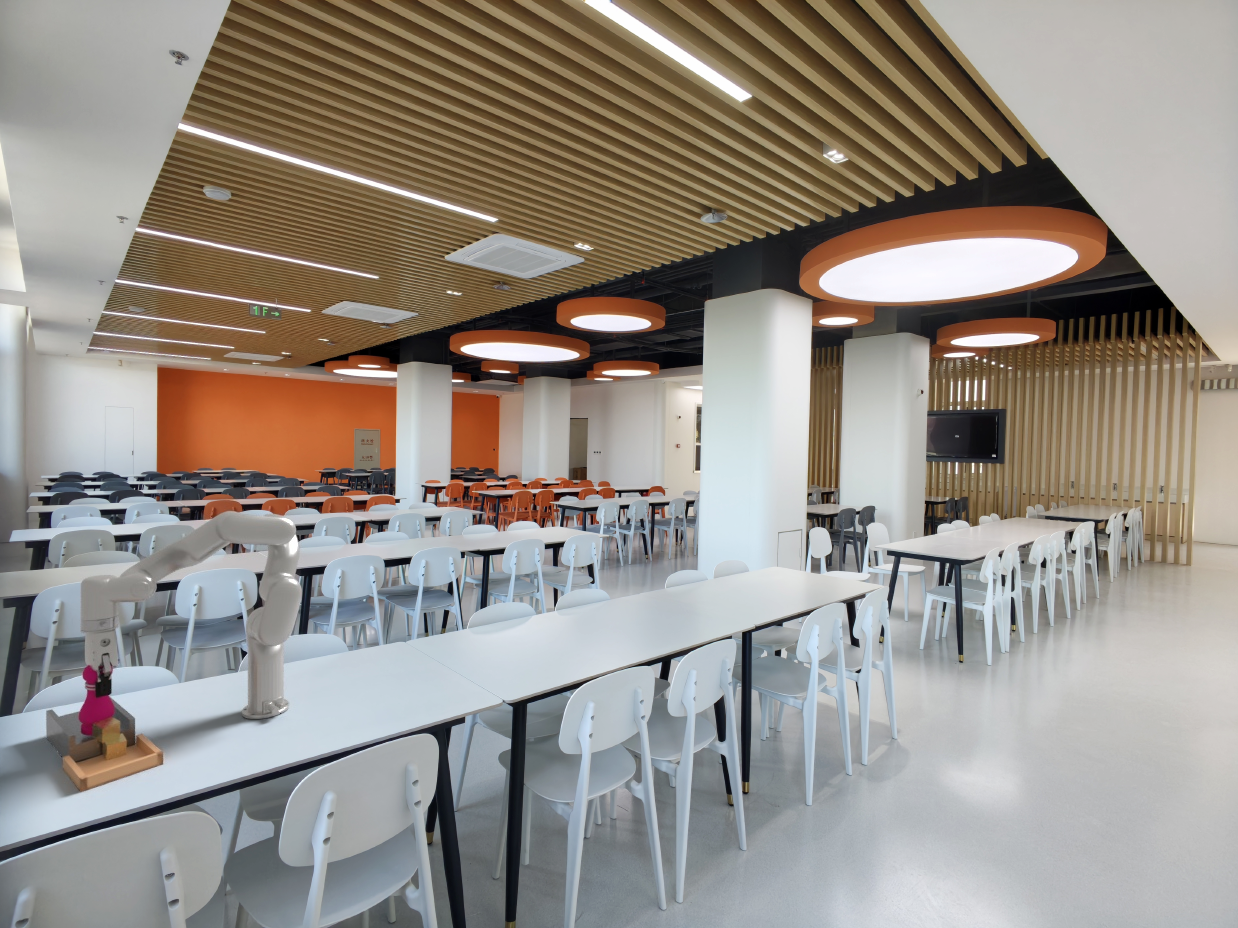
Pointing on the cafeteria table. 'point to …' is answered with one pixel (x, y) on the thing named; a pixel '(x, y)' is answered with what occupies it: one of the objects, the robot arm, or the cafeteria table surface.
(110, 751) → the yellow wooden cube
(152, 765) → the tray
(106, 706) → the pepper mill
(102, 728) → the yellow tan cube
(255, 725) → the cafeteria table surface
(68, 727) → the channel bed
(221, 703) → the cafeteria table surface
